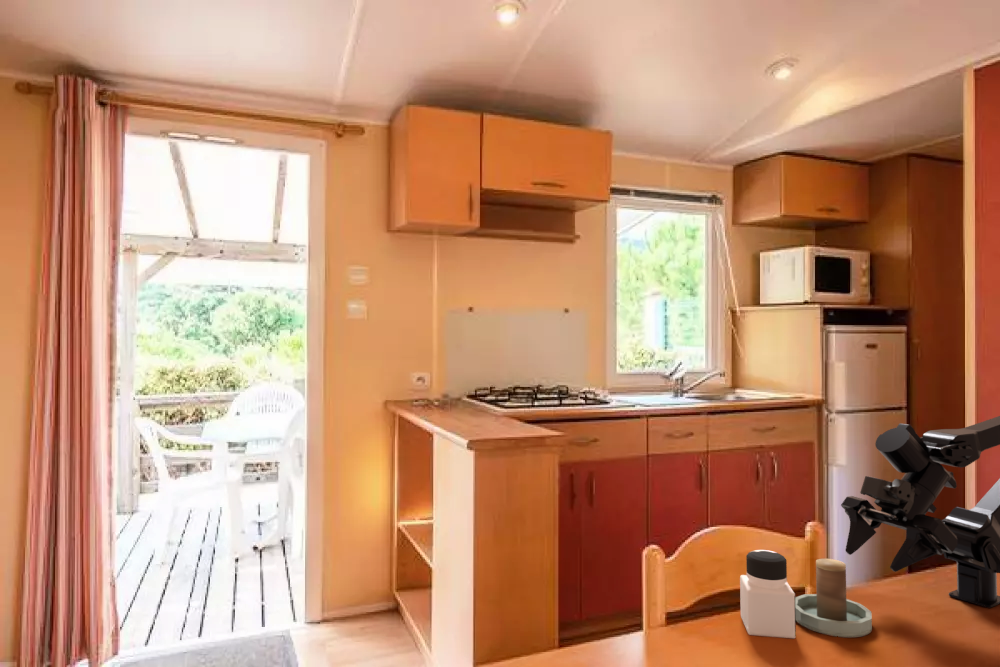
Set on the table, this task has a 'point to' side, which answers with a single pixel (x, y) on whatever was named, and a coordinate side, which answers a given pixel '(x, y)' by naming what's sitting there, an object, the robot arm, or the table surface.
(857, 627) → the dish
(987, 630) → the table surface
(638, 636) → the table surface
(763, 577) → the medicine bottle
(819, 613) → the spice jar
